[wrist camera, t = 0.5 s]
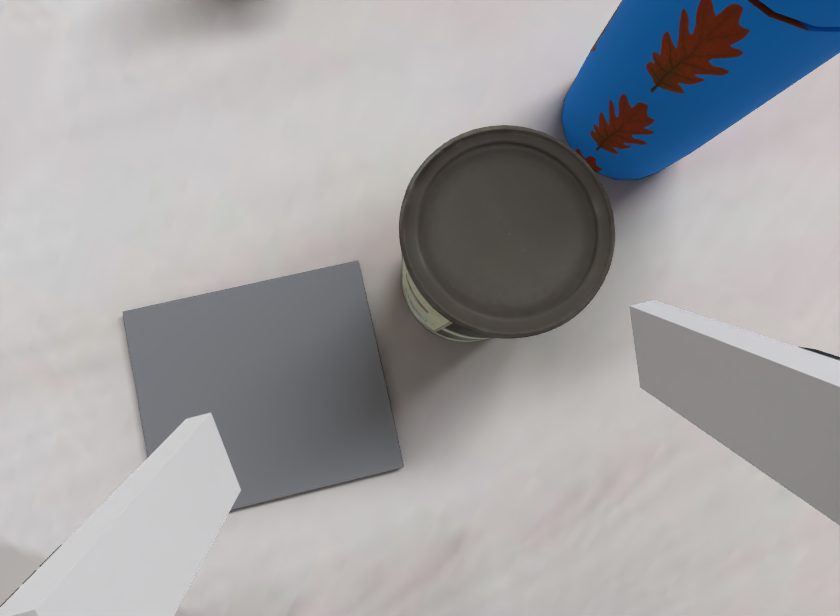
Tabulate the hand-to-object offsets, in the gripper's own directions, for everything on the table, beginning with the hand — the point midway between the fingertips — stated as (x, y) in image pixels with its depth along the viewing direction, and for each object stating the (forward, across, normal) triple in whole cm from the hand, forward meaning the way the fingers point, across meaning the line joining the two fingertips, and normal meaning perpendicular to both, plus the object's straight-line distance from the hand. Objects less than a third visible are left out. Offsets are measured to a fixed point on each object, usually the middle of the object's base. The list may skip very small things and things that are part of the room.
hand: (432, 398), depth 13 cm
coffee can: (+22, -5, +1) cm, 22 cm away
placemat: (+19, +12, +5) cm, 23 cm away
